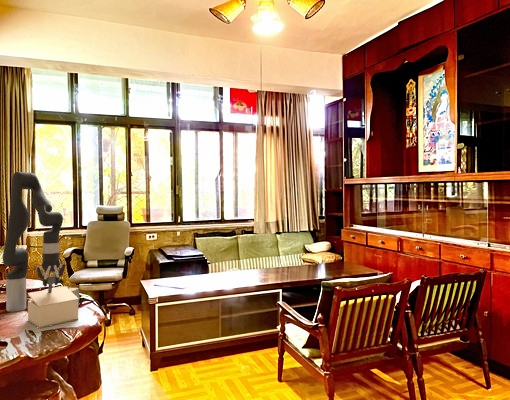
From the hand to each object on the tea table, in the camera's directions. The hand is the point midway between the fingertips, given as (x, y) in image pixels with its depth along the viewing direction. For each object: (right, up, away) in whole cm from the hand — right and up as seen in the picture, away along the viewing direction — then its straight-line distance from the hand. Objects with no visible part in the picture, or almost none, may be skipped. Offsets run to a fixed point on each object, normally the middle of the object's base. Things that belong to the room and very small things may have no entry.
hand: (50, 285), depth 195 cm
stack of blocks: (-3, -17, +18) cm, 25 cm away
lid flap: (+3, -5, -2) cm, 6 cm away
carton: (+2, -17, -2) cm, 17 cm away
